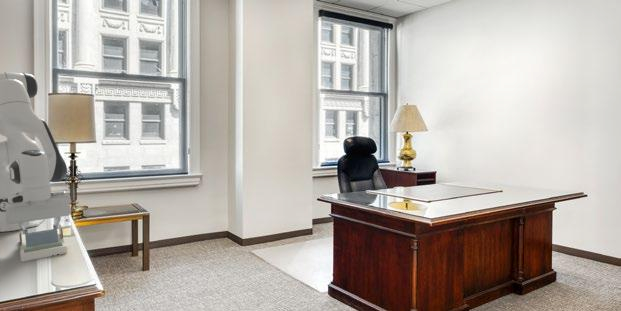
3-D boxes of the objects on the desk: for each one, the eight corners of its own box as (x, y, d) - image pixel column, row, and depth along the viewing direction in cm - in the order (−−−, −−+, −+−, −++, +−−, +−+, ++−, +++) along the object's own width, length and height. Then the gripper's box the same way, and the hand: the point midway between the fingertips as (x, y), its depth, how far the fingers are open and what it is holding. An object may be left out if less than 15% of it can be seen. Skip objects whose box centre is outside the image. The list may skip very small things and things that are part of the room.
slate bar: (26, 244, 147) (25, 233, 147) (57, 239, 152) (56, 228, 152) (26, 247, 144) (25, 235, 143) (58, 241, 149) (57, 230, 149)
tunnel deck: (21, 240, 163) (19, 225, 162) (59, 234, 170) (58, 219, 170) (21, 261, 136) (19, 243, 135) (67, 252, 143) (65, 235, 143)
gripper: (68, 189, 161) (72, 224, 162) (3, 197, 149) (7, 235, 151) (70, 191, 156) (74, 228, 157) (2, 199, 144) (7, 238, 145)
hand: (40, 231), depth 154 cm, fingers open, 8 cm apart
